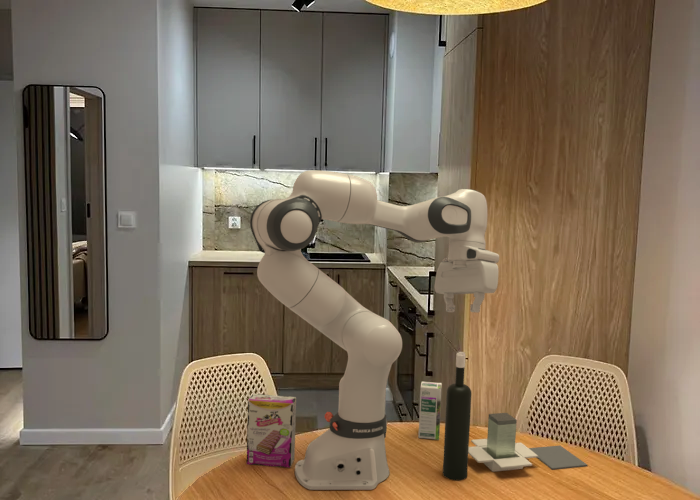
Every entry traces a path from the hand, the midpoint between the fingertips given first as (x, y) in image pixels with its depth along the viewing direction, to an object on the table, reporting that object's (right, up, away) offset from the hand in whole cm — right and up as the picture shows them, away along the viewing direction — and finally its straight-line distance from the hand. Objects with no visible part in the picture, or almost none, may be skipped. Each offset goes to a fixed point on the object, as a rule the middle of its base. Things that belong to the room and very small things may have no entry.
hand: (462, 312), depth 156 cm
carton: (+10, -38, +5) cm, 40 cm away
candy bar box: (-47, -37, +1) cm, 60 cm away
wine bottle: (-2, -39, -2) cm, 39 cm away
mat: (+26, -38, +10) cm, 47 cm away
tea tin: (+10, -38, +5) cm, 40 cm away
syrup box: (-5, -36, +22) cm, 43 cm away
